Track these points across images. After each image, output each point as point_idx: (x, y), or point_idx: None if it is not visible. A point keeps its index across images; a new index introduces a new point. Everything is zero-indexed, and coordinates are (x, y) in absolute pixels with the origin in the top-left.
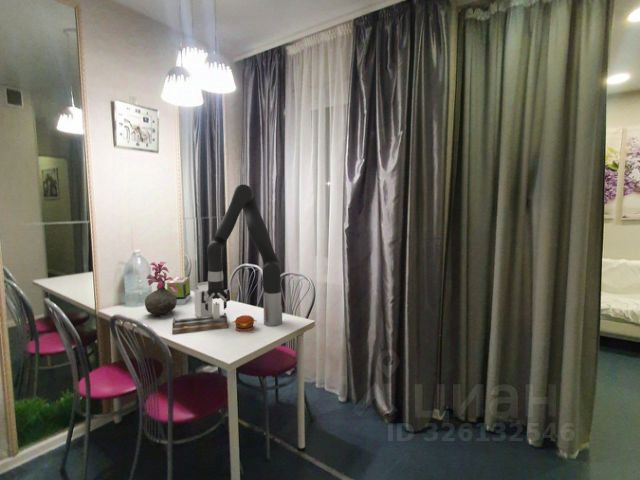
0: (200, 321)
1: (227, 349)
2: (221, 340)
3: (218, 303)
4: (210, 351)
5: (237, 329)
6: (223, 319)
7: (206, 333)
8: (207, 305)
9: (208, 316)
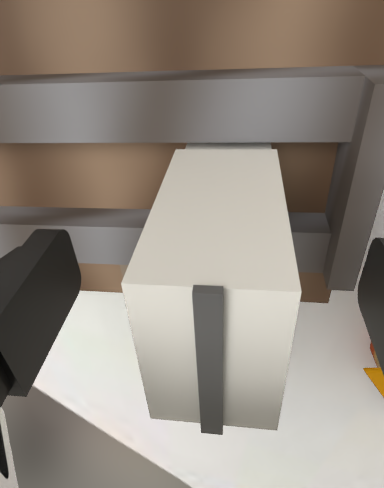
0: None
1: (252, 477)
2: None
3: (265, 377)
4: (180, 467)
5: (377, 366)
6: (302, 271)
7: None
8: (28, 367)
9: (108, 98)
